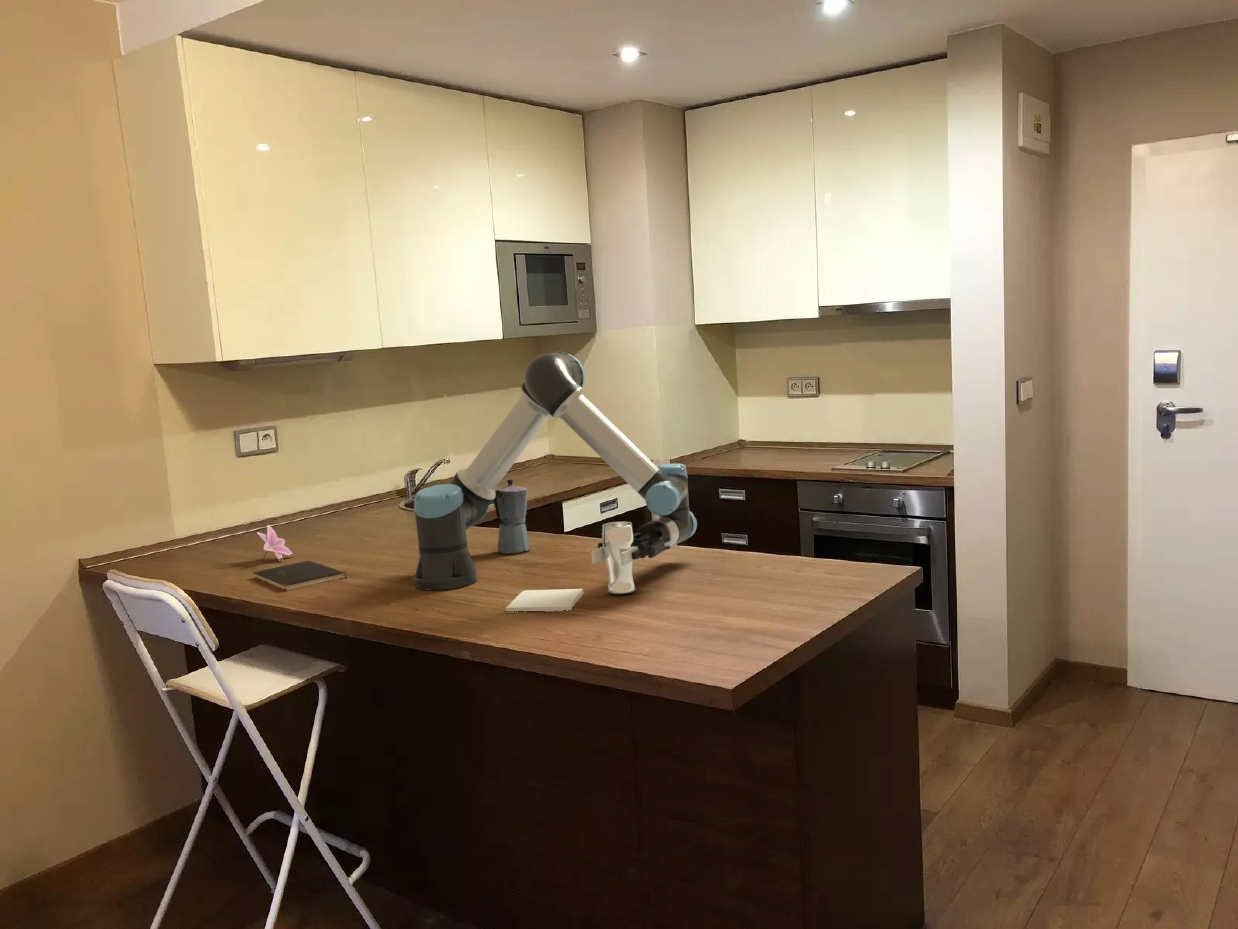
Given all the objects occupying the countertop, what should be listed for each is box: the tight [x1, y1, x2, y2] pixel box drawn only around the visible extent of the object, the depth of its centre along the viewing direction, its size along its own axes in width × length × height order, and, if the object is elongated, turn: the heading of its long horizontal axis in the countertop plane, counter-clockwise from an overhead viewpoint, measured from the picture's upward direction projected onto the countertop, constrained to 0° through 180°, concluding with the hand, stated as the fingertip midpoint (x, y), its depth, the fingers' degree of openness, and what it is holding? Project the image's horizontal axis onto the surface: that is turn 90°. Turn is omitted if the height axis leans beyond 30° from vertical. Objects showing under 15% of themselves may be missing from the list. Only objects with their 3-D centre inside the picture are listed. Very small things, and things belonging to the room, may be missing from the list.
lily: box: [256, 524, 294, 560], centre depth 283 cm, size 12×12×10 cm
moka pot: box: [492, 479, 531, 555], centre depth 269 cm, size 10×15×20 cm, turn 161°
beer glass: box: [602, 521, 636, 595], centre depth 217 cm, size 7×7×15 cm
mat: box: [505, 588, 585, 613], centre depth 215 cm, size 14×14×1 cm
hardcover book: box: [253, 560, 347, 589], centre depth 258 cm, size 16×23×2 cm
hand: (607, 558), depth 213 cm, fingers closed on beer glass, 7 cm apart
